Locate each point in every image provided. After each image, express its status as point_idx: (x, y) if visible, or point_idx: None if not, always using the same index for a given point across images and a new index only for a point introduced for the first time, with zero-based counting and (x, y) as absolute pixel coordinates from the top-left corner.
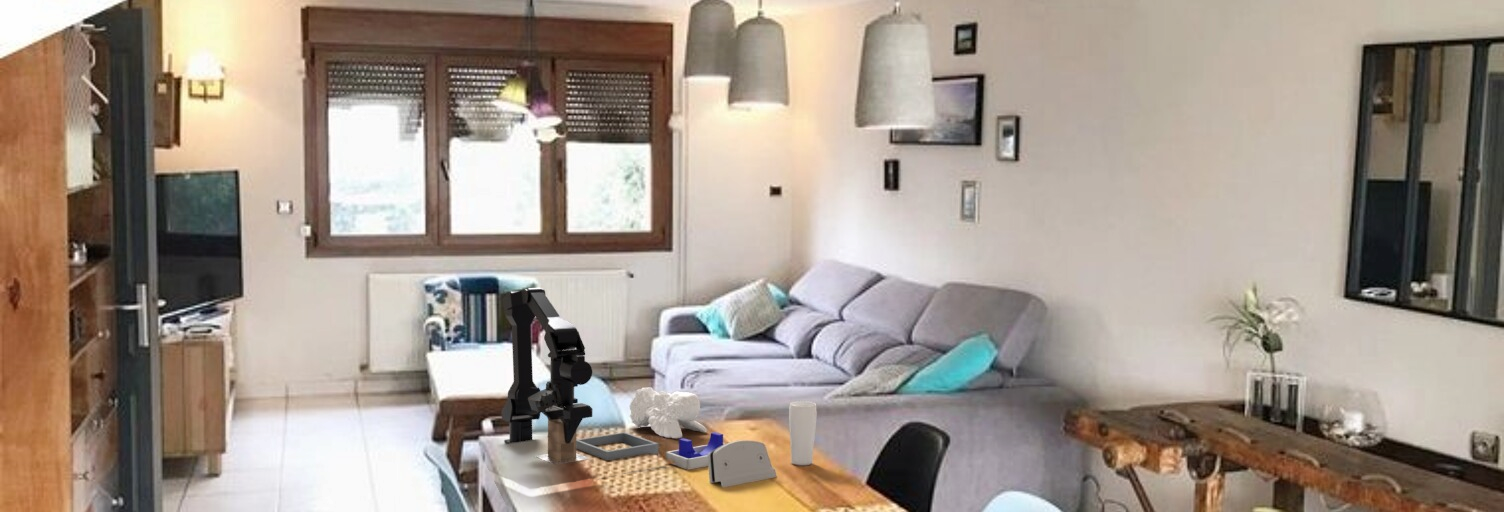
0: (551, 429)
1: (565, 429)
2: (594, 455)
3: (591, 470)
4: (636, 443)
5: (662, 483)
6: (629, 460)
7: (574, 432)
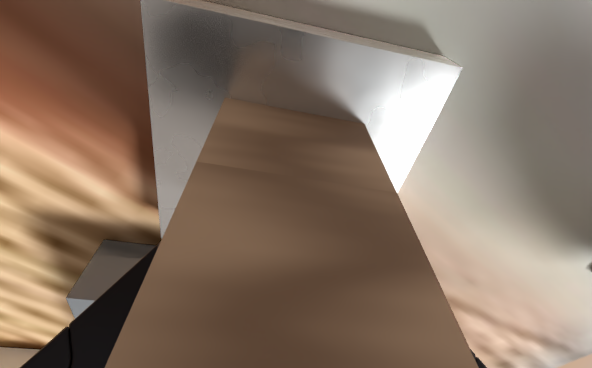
0: (354, 292)
1: (64, 351)
2: None
3: (57, 157)
4: None
5: None
6: None
7: None
